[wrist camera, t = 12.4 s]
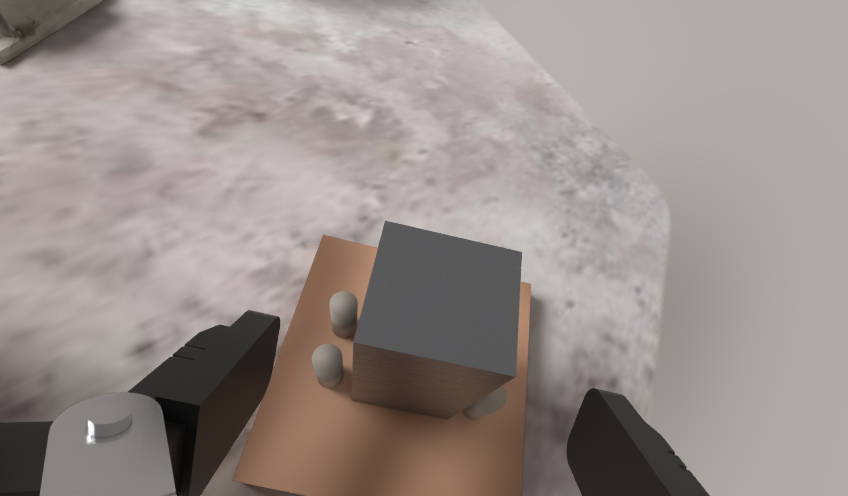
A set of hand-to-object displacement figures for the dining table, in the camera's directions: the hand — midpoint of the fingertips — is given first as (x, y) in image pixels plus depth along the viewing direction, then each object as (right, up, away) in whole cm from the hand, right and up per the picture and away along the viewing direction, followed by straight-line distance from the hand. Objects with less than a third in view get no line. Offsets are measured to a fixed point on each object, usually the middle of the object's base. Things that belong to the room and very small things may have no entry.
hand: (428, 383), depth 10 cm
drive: (-1, -2, +9) cm, 10 cm away
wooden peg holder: (-1, -3, +10) cm, 11 cm away
